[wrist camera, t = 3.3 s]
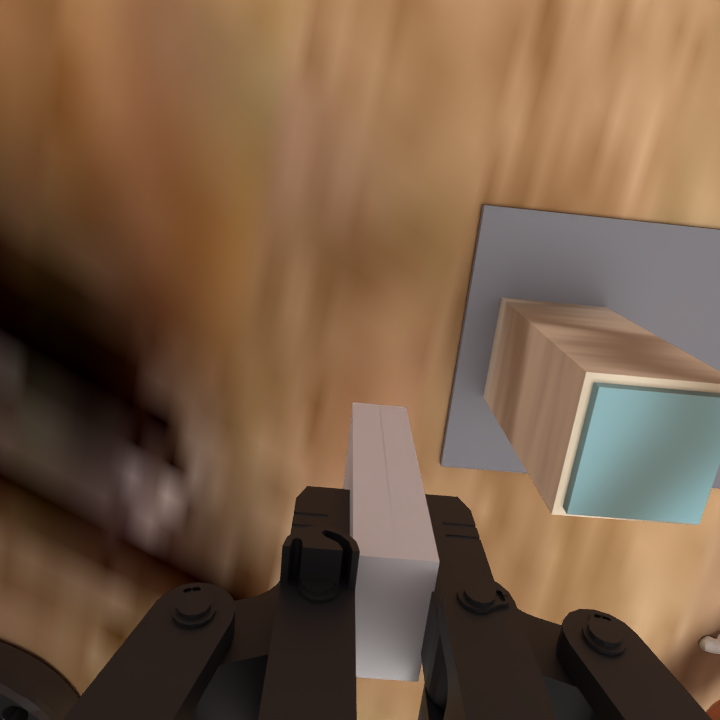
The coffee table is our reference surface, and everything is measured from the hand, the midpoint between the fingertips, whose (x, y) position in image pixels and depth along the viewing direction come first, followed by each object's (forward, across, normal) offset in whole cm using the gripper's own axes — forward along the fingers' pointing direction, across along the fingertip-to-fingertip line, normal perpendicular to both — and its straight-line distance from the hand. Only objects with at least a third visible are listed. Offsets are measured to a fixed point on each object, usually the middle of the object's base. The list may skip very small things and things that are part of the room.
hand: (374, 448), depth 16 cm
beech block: (+12, +9, 0) cm, 14 cm away
